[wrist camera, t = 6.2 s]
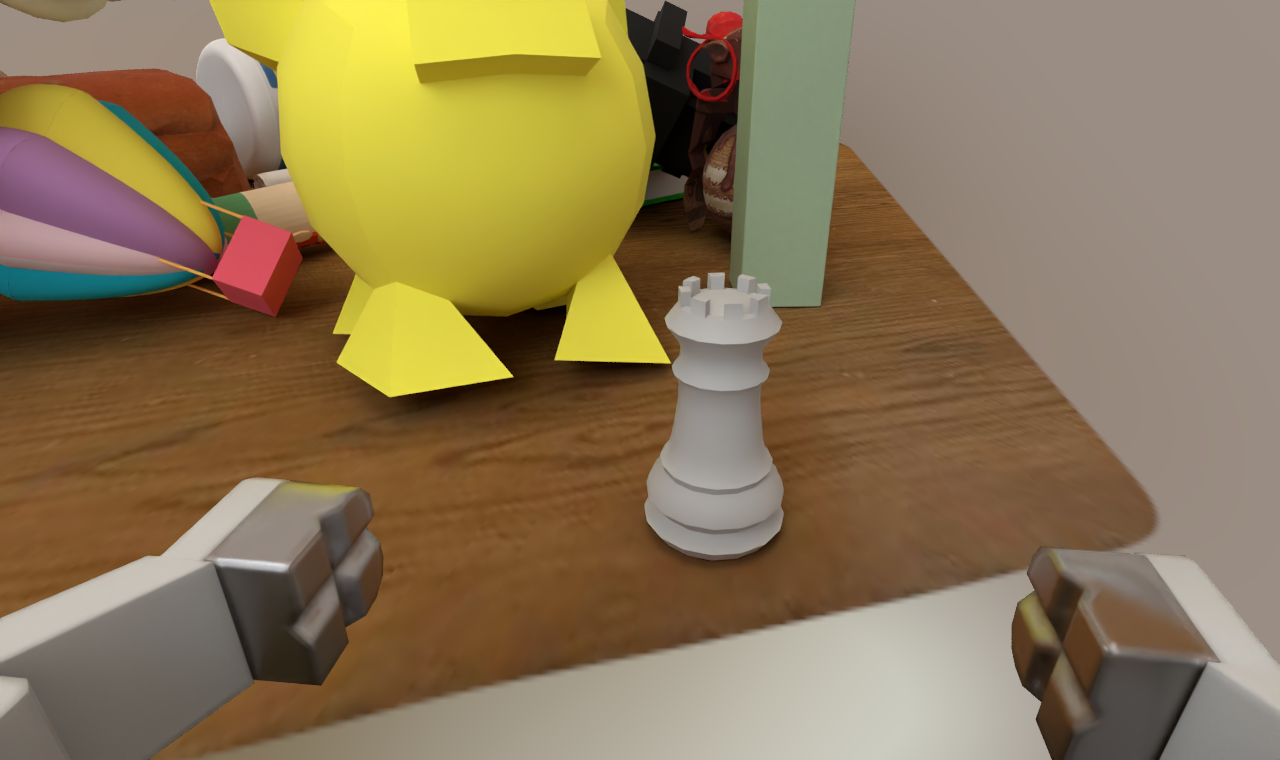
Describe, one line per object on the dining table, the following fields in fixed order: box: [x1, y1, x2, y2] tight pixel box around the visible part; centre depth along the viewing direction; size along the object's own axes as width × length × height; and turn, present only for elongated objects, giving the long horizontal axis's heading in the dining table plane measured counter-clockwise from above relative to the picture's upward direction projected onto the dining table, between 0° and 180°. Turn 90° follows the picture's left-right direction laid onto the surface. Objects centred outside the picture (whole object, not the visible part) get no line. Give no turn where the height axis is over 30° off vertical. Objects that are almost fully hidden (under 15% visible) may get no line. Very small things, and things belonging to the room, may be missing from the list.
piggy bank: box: [209, 0, 671, 397], centre depth 33 cm, size 20×20×19 cm
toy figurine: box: [211, 181, 324, 248], centre depth 47 cm, size 8×4×12 cm
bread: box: [0, 69, 252, 198], centre depth 51 cm, size 16×27×11 cm, turn 128°
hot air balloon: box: [0, 84, 303, 317], centre depth 37 cm, size 11×15×11 cm
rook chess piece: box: [644, 273, 784, 561], centre depth 22 cm, size 4×4×8 cm
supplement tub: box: [196, 38, 287, 179], centre depth 72 cm, size 12×12×17 cm
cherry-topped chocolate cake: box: [682, 12, 743, 234], centre depth 48 cm, size 9×8×15 cm
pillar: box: [729, 0, 856, 307], centre depth 37 cm, size 4×4×22 cm
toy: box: [625, 1, 740, 179], centre depth 54 cm, size 12×8×15 cm
